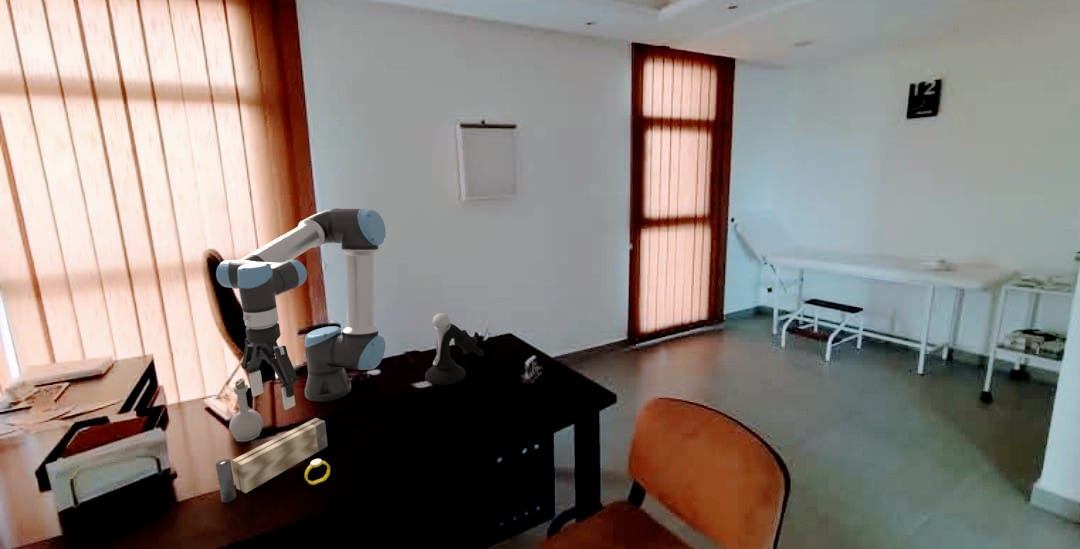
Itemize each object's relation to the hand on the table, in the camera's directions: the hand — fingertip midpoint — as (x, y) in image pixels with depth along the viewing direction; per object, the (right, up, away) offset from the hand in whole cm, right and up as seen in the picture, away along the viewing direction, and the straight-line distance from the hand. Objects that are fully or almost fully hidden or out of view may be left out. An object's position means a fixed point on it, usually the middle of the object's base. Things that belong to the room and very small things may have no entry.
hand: (273, 400), depth 134 cm
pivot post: (-7, -22, -8) cm, 24 cm away
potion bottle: (-18, -15, +19) cm, 31 cm away
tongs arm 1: (0, -19, +5) cm, 19 cm away
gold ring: (+13, -21, -2) cm, 24 cm away
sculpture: (+38, -5, +62) cm, 73 cm away
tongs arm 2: (+2, -19, +4) cm, 19 cm away
